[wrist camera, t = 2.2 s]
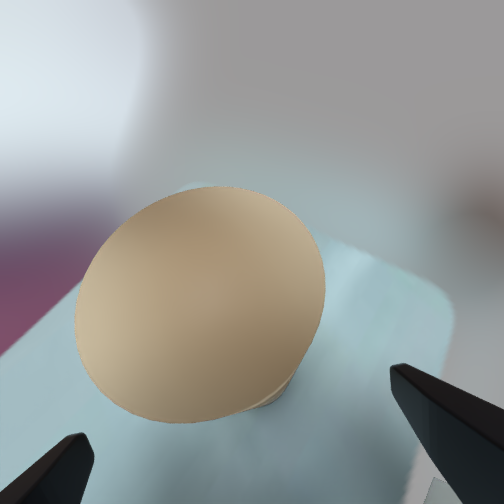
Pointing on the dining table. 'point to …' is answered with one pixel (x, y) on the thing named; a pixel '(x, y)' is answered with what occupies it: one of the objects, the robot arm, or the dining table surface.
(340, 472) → the dining table surface
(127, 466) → the dining table surface
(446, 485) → the well block
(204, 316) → the peg
